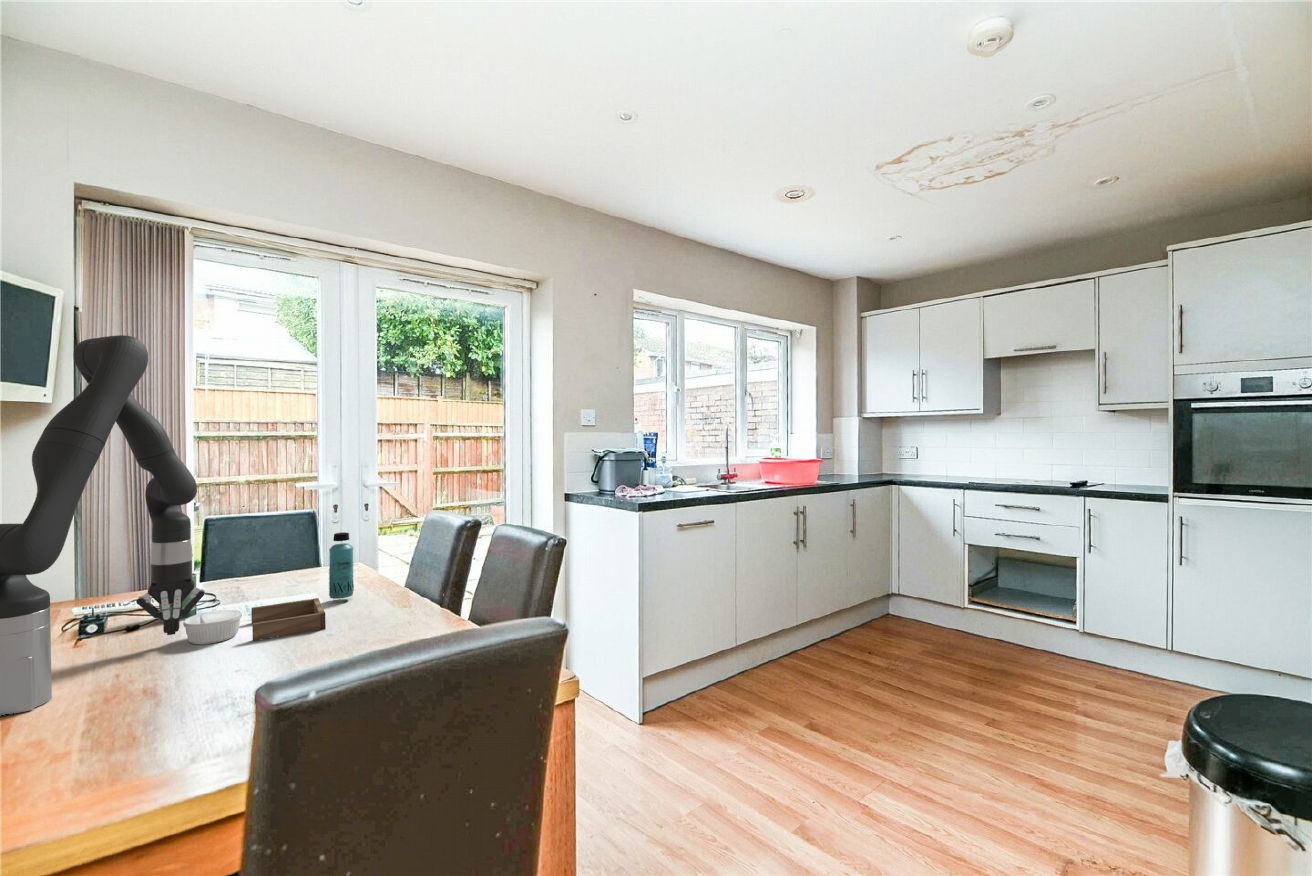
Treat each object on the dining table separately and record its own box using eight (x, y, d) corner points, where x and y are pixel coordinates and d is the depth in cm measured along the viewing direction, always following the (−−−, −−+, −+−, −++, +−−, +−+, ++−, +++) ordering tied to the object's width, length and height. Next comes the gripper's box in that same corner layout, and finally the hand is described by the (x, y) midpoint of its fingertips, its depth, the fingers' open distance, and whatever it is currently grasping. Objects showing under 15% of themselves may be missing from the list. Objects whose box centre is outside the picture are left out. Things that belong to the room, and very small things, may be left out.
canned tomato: (152, 623, 155) (152, 581, 155) (168, 614, 162) (167, 574, 162) (188, 620, 157) (187, 579, 157) (202, 612, 164) (201, 572, 164)
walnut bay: (325, 629, 150) (325, 613, 150) (252, 641, 142) (252, 624, 142) (318, 612, 164) (318, 598, 164) (251, 623, 155) (251, 607, 155)
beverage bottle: (323, 602, 173) (323, 533, 173) (345, 596, 179) (344, 530, 179) (338, 605, 170) (337, 535, 170) (359, 599, 176) (358, 532, 176)
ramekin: (171, 644, 140) (171, 621, 140) (218, 628, 151) (218, 607, 151) (207, 648, 137) (207, 626, 137) (252, 632, 148) (252, 611, 148)
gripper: (132, 566, 132) (132, 644, 132) (206, 559, 140) (206, 633, 140) (136, 560, 138) (136, 635, 139) (207, 554, 146) (207, 624, 146)
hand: (171, 633), depth 139 cm, fingers closed
